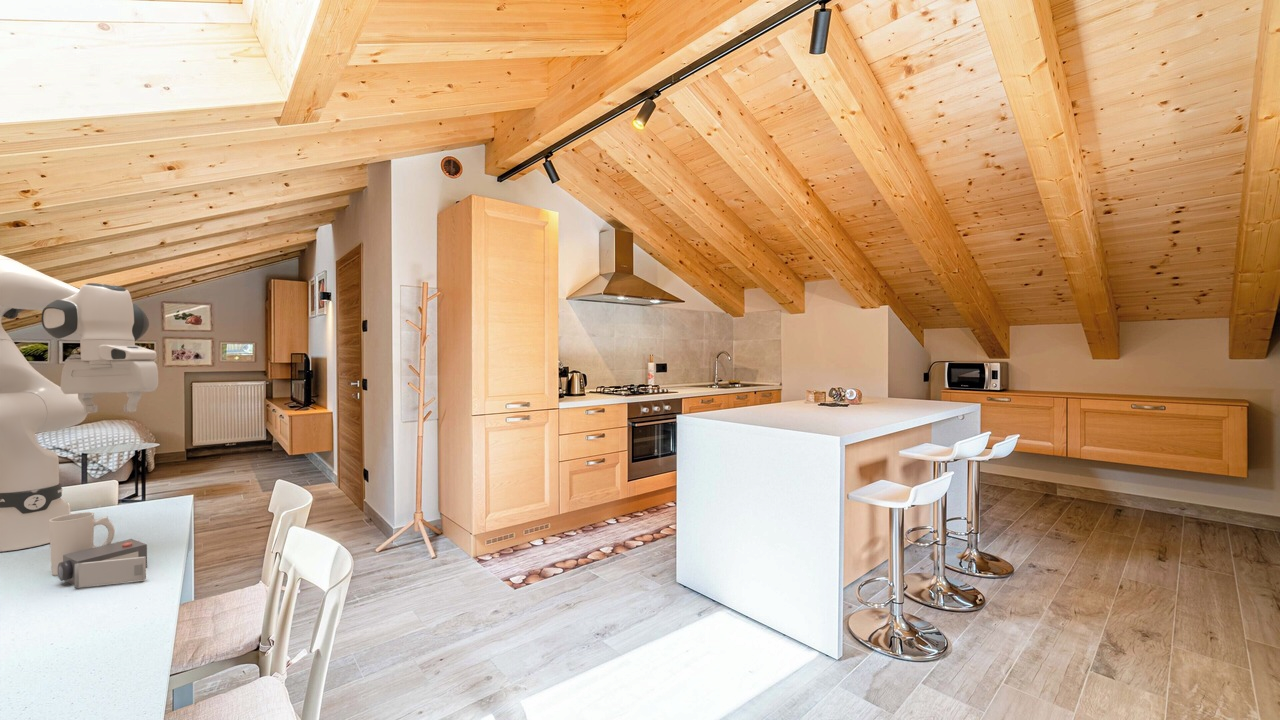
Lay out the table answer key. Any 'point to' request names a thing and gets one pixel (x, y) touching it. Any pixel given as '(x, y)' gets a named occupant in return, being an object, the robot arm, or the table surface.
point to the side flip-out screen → (110, 572)
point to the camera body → (100, 556)
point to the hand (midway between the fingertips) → (110, 412)
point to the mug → (74, 535)
